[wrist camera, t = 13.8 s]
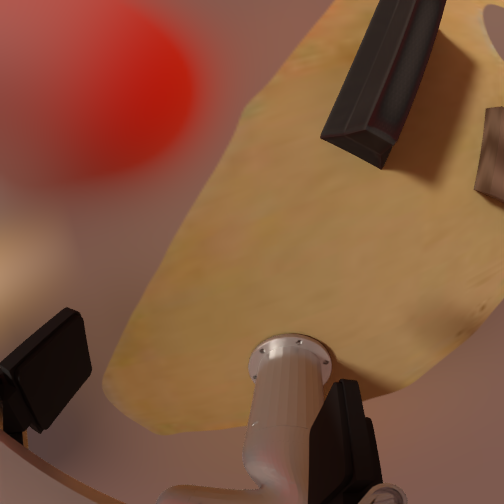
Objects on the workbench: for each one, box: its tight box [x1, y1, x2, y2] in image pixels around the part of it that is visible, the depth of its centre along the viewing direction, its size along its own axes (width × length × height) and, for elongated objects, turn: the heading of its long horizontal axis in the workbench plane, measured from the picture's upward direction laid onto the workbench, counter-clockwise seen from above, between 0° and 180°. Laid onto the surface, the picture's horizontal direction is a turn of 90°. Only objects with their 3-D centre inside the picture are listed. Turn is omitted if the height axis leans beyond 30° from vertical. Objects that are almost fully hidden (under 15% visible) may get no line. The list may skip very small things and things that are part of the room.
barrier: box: [320, 0, 446, 169], centre depth 24 cm, size 24×9×10 cm, turn 157°
